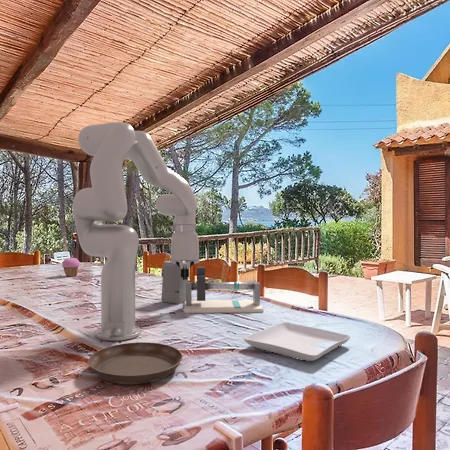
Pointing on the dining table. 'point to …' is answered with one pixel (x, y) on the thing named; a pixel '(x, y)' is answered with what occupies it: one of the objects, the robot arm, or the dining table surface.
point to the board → (222, 306)
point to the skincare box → (173, 283)
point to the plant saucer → (135, 362)
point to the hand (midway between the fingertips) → (184, 279)
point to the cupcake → (71, 266)
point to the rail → (225, 286)
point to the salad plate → (295, 340)
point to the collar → (200, 283)
